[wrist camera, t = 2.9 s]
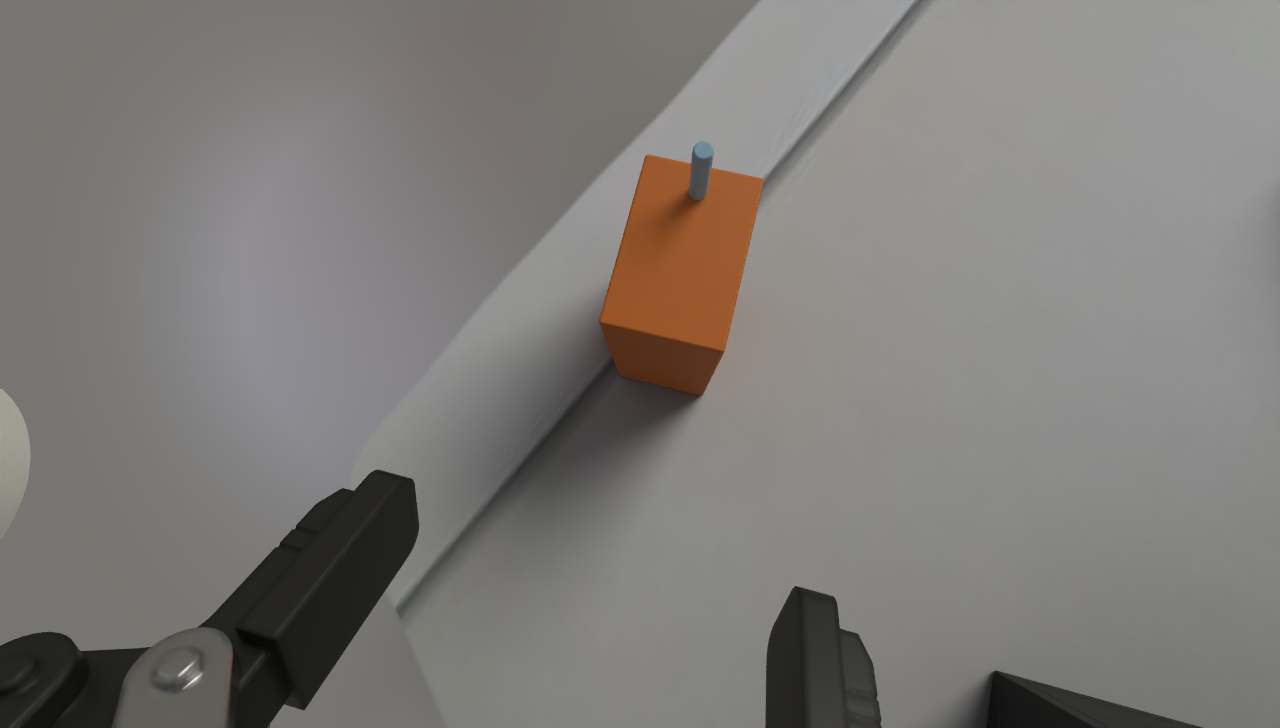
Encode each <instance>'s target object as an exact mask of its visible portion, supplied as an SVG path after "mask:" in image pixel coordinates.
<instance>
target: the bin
mask: <svg viewBox="0 0 1280 728" xmlns="http://www.w3.org/2000/svg"><path fill="white" fill-rule="evenodd" d="M987 728H1202V727H1198V726H1194V725H1191V724H1187V723H1184V722H1180V721H1176V720H1173V719H1169V718H1165V717H1162V716H1158V715H1155V714H1151V713H1147V712H1144V711H1140V710H1137V709H1133V708H1129V707H1126V706H1122V705H1118V704H1115V703H1111V702H1108V701H1104V700H1100V699H1097V698H1093V697H1090V696H1086V695H1082V694H1079V693H1075V692H1071V691H1068V690H1064V689H1061V688H1057V687H1053V686H1050V685H1046V684H1042V683H1039V682H1035V681H1032V680H1028V679H1024V678H1021V677H1017V676H1014V675H1010V674H1006V673H1003V672H999V671H994V673H993V682H992V690H991V698H990V707H989V715H988V723H987Z"/></svg>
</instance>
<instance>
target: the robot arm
mask: <svg viewBox="0 0 1280 728" xmlns="http://www.w3.org/2000/svg"><path fill="white" fill-rule="evenodd" d="M418 531H419V520H418V511H417V502H416V492H415V484H414V481H413V480H412V479H410V478H407V477H403V476H400V475H396V474H392V473H389V472H385V471H381V470H375V471H373V472H371V473H370V474H369V475H368V476H367V477H366V478H365V479H364V480H363V481H362V483H361V484H360V485H359V486H358V487H357V488H356V489H355V491H352V490H348V489H344V488H342V489H340V490H339V491H337V492H335V493H334V494H332V495H330V496H329V497H327V498H325V499H324V500H322V501H320V502H319V503H317V504H316V505H315V506H314V507H313V508H312V509H311V510H310V511H309V512H308V513H307V514H306V515H305V517H304V518H303V519H302V520H301V521H300V522H299V523H298V524H297V525H296V528H295V529H294V530H292V531H290V533H289V534H288V535H287V536H286V537H285V538H284V539H283V540H282V541H281V542H280V545H279V547H278V548H277V547H276V548H275V549H274V550H273V551H272V552H271V553H270V554H269V555H268V556H267V557H266V558H265V559H264V560H263V561H262V563H261V564H260V565H259V566H258V567H257V568H256V569H255V570H254V571H253V572H252V573H251V574H250V575H249V577H248V578H247V579H246V580H245V581H244V582H243V583H242V584H241V585H240V586H239V587H238V588H237V589H236V591H235V592H234V593H233V594H232V595H231V596H230V597H229V598H228V599H227V600H226V601H225V602H224V603H223V604H222V605H221V606H220V608H219V609H218V610H217V611H216V612H215V613H214V614H213V615H212V616H211V617H210V618H209V619H208V620H206V621H205V622H204V623H202V624H201V625H200V626H199V627H197V628H192V629H188V630H184V631H181V632H178V633H175V634H173V635H171V636H168V637H167V638H165V639H163V640H161V641H159V642H158V643H156V644H155V645H154V646H152V647H147V648H135V649H117V650H97V651H80V650H79V649H78V647H77V646H76V645H75V644H74V642H73V641H72V640H71V639H70V638H69V637H67V636H66V635H63V634H60V633H54V632H42V633H35V634H31V635H27V636H23V637H20V638H17V639H15V640H12V641H10V642H7V643H5V644H3V645H1V646H0V728H270V723H271V722H272V720H273V719H274V717H275V716H276V714H277V713H278V712H279V710H280V709H281V707H282V706H283V705H284V704H286V705H289V706H292V707H295V708H298V709H301V710H305V708H306V707H307V706H308V704H309V702H310V701H311V700H312V698H313V697H314V695H315V694H316V692H317V691H318V689H319V688H320V686H321V684H322V683H323V682H324V680H325V679H326V677H327V676H328V674H329V673H330V671H331V670H332V669H333V667H334V665H335V664H336V663H337V661H338V660H339V658H340V657H341V655H342V654H343V652H344V651H345V649H346V648H347V646H348V645H349V643H350V642H351V640H352V639H353V637H354V636H355V634H356V633H357V631H358V630H359V628H360V627H361V626H362V624H363V623H364V621H365V620H366V618H367V617H368V615H369V614H370V612H371V610H372V609H373V608H374V606H375V605H376V603H377V602H378V600H379V599H380V597H381V596H382V594H383V593H384V592H385V590H386V589H387V587H388V586H389V584H390V583H391V581H392V580H393V578H394V577H395V575H396V574H397V572H398V571H399V569H400V568H401V566H402V565H403V563H404V562H405V560H406V559H407V557H408V556H409V554H410V553H411V551H412V549H413V547H414V544H415V542H416V539H417V536H418ZM880 723H881V716H880V709H879V702H878V701H877V688H876V682H875V675H874V668H873V663H872V661H871V659H870V657H869V655H868V653H867V651H866V649H865V647H864V645H863V643H862V641H861V639H860V637H859V635H858V634H856V633H853V632H849V631H846V630H842V629H840V627H839V617H838V607H837V602H836V600H835V598H834V597H833V596H830V595H827V594H823V593H819V592H816V591H812V590H808V589H805V588H801V587H797V586H795V587H794V588H793V589H792V591H791V593H790V595H789V596H788V598H787V600H786V602H785V604H784V606H783V608H782V610H781V612H780V614H779V616H778V618H777V620H776V622H775V624H774V626H773V628H772V631H771V634H770V638H769V643H768V649H767V665H766V727H765V728H882V727H881V725H880Z"/></svg>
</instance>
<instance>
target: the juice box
mask: <svg viewBox="0 0 1280 728" xmlns="http://www.w3.org/2000/svg"><path fill="white" fill-rule="evenodd" d="M713 154H714V149H713V147H712V145H711V144H710V143H708V142H705V141H702V142H699V143H697V144H696V145H695V146H694V148H693V153H692V163H691V164H690V163H685V162H681V161H676V160H671V159H666V158H662V157H657V156H652V155H646V156H645V159H644V163H643V167H642V170H641V174H640V177H639V181H638V184H637V188H636V191H635V195H634V199H633V202H632V206H631V209H630V213H629V216H628V220H627V224H626V227H625V231H624V234H623V238H622V241H621V245H620V249H619V252H618V256H617V259H616V263H615V266H614V270H613V274H612V277H611V281H610V284H609V288H608V291H607V295H606V298H605V302H604V306H603V309H602V313H601V316H600V320H599V323H600V325H601V328H602V331H603V333H604V336H605V338H606V341H607V344H608V346H609V349H610V351H611V354H612V357H613V359H614V362H615V365H616V367H617V370H618V372H619V375H620V376H623V377H627V378H631V379H635V380H639V381H643V382H647V383H651V384H655V385H660V386H664V387H668V388H672V389H676V390H680V391H684V392H688V393H692V394H696V395H700V396H702V395H703V393H704V391H705V389H706V387H707V385H708V383H709V381H710V379H711V377H712V375H713V373H714V371H715V369H716V367H717V365H718V363H719V361H720V359H721V357H722V355H723V353H724V351H725V347H726V343H727V339H728V334H729V330H730V326H731V322H732V317H733V313H734V309H735V304H736V300H737V296H738V291H739V287H740V283H741V278H742V274H743V270H744V265H745V261H746V257H747V252H748V248H749V244H750V240H751V235H752V231H753V227H754V222H755V218H756V214H757V209H758V205H759V201H760V196H761V192H762V188H763V183H764V179H761V178H757V177H752V176H747V175H742V174H738V173H733V172H728V171H723V170H719V169H714V168H711V167H712V160H713Z"/></svg>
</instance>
